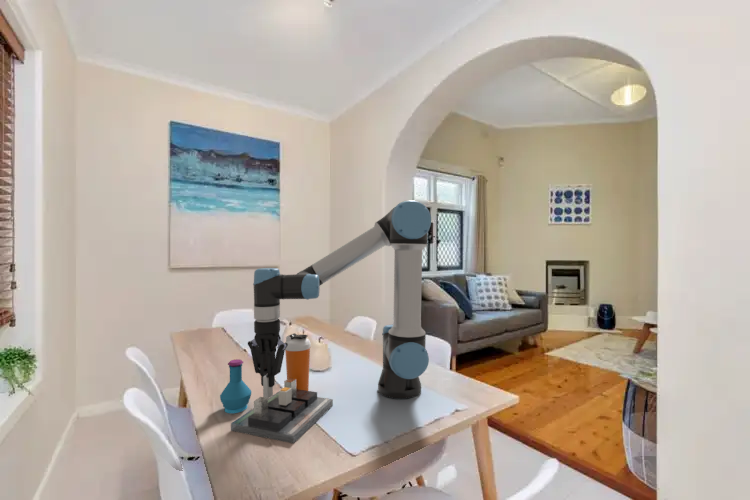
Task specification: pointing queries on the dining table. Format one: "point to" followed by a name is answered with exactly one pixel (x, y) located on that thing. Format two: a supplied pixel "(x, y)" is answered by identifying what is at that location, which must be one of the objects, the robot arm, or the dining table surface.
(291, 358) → the shaker bottle
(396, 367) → the robot arm
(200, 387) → the dining table surface
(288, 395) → the breaker handle
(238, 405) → the perfume bottle
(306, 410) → the panel
